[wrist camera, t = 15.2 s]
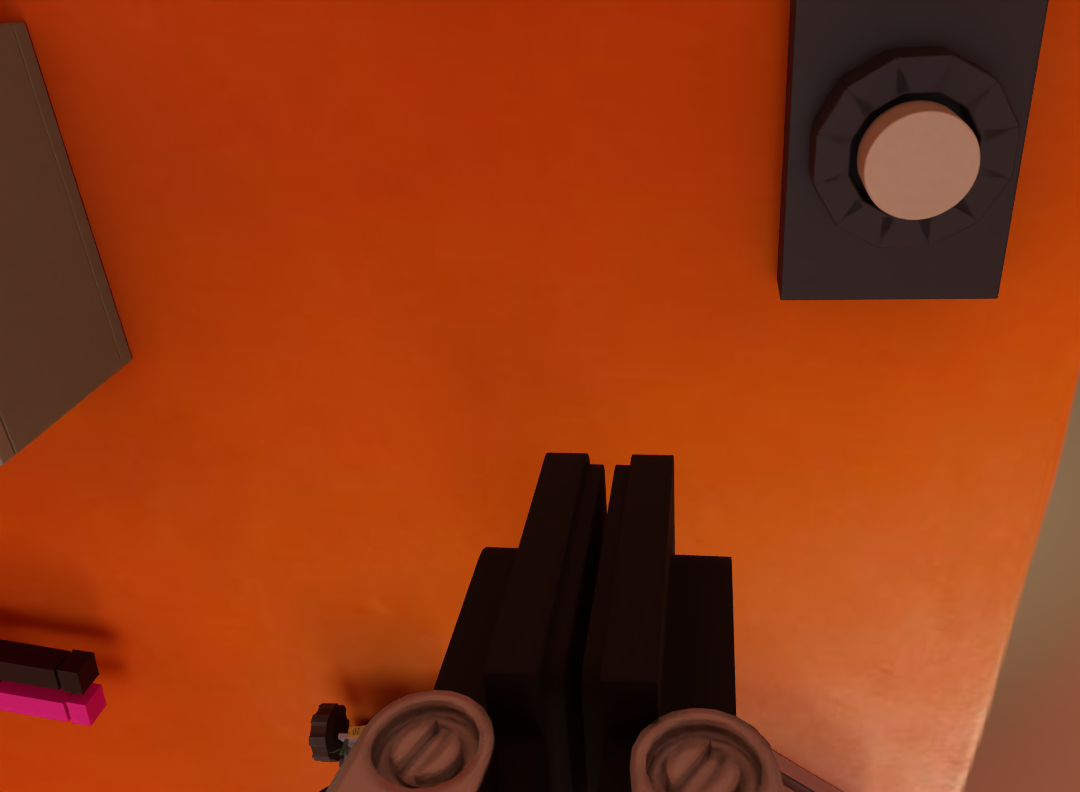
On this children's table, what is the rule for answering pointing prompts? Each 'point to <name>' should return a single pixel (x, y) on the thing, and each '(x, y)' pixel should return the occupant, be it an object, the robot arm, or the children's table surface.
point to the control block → (865, 93)
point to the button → (918, 160)
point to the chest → (45, 262)
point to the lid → (5, 447)
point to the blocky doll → (49, 683)
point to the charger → (800, 778)
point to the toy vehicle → (332, 734)
